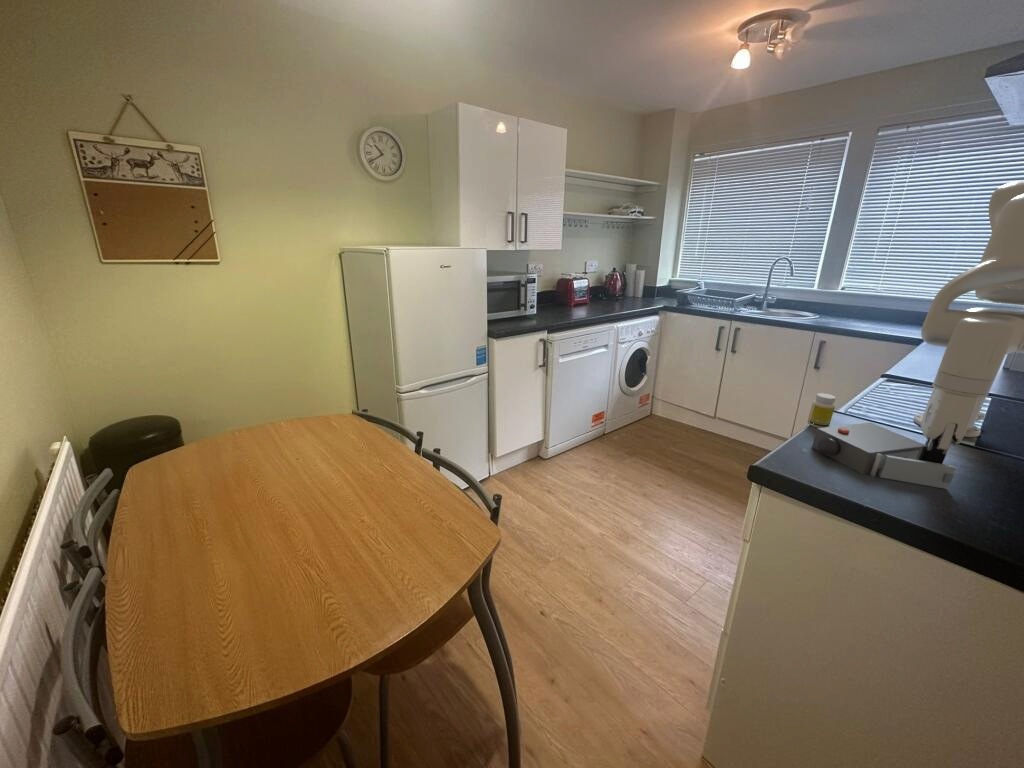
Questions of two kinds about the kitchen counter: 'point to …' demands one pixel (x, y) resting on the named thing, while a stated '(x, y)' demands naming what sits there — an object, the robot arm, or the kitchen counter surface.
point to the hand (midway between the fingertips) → (927, 466)
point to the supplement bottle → (822, 410)
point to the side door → (917, 471)
